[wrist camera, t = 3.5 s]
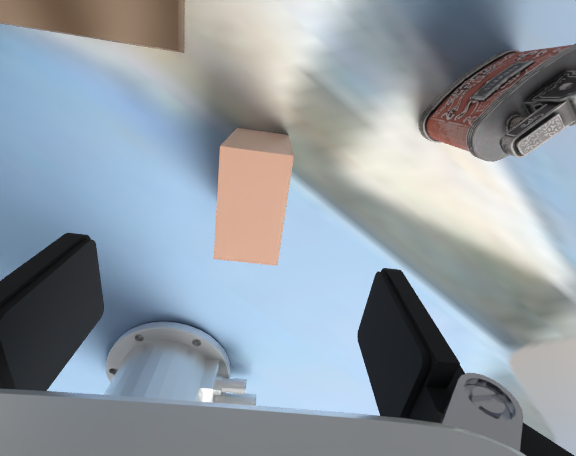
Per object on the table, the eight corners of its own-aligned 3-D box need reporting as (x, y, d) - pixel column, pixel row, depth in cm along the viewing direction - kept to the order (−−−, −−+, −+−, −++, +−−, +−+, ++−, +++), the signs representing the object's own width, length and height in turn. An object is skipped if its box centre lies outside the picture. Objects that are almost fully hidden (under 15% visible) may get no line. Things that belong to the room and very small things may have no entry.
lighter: (507, 38, 22) (666, 6, 13) (527, 78, 24) (685, 74, 14) (410, 117, 24) (490, 136, 15) (432, 150, 25) (518, 187, 16)
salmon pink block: (288, 134, 25) (293, 156, 17) (277, 217, 27) (277, 265, 20) (236, 127, 24) (219, 145, 17) (230, 212, 27) (213, 258, 20)
